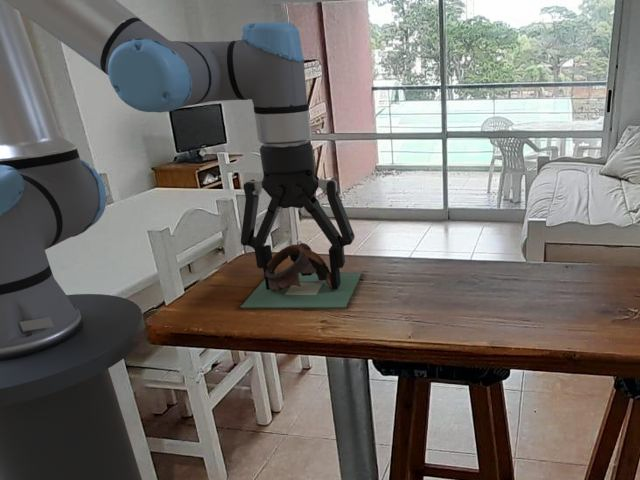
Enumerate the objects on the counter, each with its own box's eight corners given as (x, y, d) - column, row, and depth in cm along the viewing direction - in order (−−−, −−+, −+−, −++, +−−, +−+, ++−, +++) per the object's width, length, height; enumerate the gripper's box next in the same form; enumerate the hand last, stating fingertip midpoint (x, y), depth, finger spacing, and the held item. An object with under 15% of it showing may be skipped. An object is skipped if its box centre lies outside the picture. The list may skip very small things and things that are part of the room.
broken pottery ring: (339, 300, 88) (309, 262, 83) (288, 326, 90) (255, 290, 85) (337, 256, 97) (309, 220, 92) (290, 281, 99) (261, 246, 94)
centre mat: (240, 308, 86) (240, 306, 86) (269, 275, 99) (269, 273, 99) (345, 308, 85) (345, 306, 85) (361, 274, 98) (360, 272, 97)
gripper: (367, 137, 85) (377, 277, 94) (219, 140, 87) (243, 278, 96) (358, 145, 78) (370, 295, 87) (198, 148, 80) (226, 295, 89)
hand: (303, 286), depth 92 cm, fingers closed on broken pottery ring, 10 cm apart
